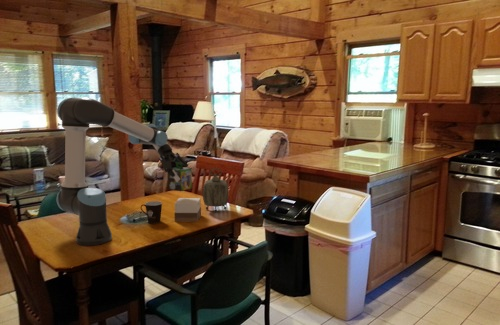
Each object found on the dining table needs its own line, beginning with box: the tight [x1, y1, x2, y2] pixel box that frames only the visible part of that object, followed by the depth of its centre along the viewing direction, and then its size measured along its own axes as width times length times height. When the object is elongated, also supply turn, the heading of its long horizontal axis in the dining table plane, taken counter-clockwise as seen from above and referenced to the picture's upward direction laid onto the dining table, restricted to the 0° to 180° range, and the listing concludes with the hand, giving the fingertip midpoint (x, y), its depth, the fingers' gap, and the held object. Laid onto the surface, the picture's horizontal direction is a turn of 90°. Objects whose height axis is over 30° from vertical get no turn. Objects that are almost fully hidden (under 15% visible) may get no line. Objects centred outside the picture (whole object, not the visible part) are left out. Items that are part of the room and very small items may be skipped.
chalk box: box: [168, 162, 193, 192], centre depth 212 cm, size 9×9×15 cm
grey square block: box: [174, 206, 202, 223], centre depth 211 cm, size 12×12×5 cm
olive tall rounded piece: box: [202, 168, 229, 213], centre depth 223 cm, size 14×9×25 cm, turn 92°
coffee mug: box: [139, 200, 163, 224], centre depth 205 cm, size 12×9×10 cm
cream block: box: [174, 197, 202, 214], centre depth 210 cm, size 12×12×5 cm
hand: (184, 179), depth 211 cm, fingers closed on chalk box, 9 cm apart
